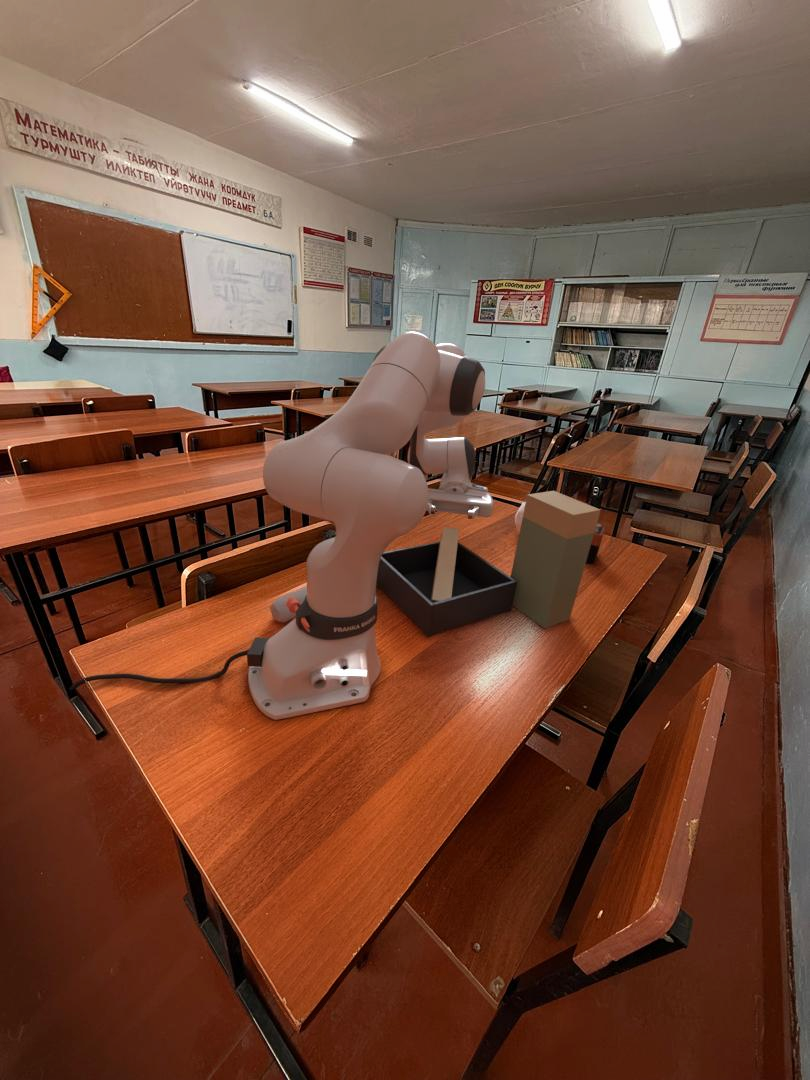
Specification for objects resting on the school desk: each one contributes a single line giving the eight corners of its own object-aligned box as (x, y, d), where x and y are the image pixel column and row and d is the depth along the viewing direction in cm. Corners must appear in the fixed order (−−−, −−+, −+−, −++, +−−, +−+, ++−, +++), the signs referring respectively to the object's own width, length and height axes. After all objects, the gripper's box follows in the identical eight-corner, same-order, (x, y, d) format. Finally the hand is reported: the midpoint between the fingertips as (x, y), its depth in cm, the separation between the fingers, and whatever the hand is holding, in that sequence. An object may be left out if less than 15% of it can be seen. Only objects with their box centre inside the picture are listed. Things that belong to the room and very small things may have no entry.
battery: (597, 556, 127) (606, 524, 123) (593, 564, 122) (602, 532, 117) (581, 551, 129) (590, 520, 125) (577, 560, 123) (586, 528, 119)
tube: (281, 614, 83) (378, 573, 100) (266, 596, 85) (363, 558, 102) (277, 632, 86) (372, 589, 103) (264, 613, 89) (358, 574, 105)
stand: (544, 628, 92) (573, 514, 81) (505, 600, 101) (527, 494, 90) (569, 619, 96) (600, 509, 85) (530, 592, 105) (553, 490, 94)
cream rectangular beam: (428, 611, 93) (431, 599, 91) (440, 537, 111) (443, 525, 108) (447, 615, 93) (450, 603, 91) (456, 540, 111) (459, 529, 108)
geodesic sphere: (557, 541, 120) (570, 493, 122) (506, 529, 125) (520, 483, 127) (556, 554, 133) (568, 511, 136) (510, 542, 139) (522, 501, 141)
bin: (427, 637, 87) (431, 605, 83) (373, 581, 105) (375, 553, 101) (511, 610, 98) (517, 581, 94) (449, 564, 116) (453, 538, 112)
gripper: (416, 479, 116) (409, 496, 104) (493, 488, 114) (495, 506, 102) (414, 501, 119) (407, 520, 107) (490, 510, 117) (491, 531, 104)
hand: (451, 513), depth 104 cm, fingers open, 8 cm apart
